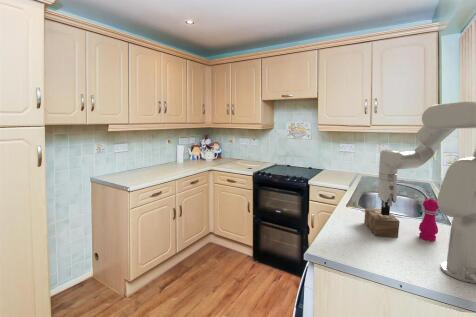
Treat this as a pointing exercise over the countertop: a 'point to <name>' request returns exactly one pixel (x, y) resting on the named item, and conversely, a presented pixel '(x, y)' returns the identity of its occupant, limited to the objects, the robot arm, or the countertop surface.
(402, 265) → the countertop surface
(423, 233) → the pepper mill
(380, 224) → the socket block
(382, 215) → the peg
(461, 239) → the robot arm
